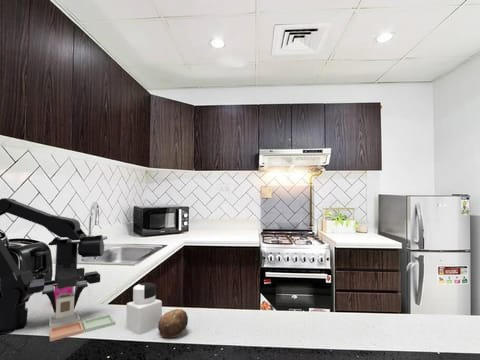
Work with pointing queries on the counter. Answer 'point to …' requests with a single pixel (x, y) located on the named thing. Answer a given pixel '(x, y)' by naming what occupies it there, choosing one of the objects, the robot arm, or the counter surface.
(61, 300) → the letter block
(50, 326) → the tray grey
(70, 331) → the tray terracotta
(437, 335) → the counter surface
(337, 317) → the counter surface
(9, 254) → the robot arm
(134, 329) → the medicine bottle
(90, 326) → the tray sage
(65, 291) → the supplement box
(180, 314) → the brown potato
